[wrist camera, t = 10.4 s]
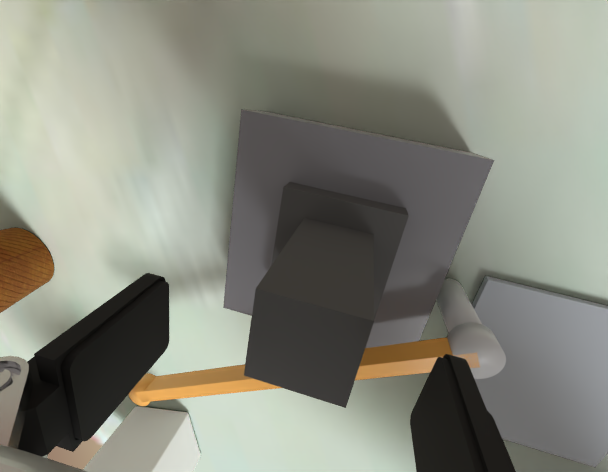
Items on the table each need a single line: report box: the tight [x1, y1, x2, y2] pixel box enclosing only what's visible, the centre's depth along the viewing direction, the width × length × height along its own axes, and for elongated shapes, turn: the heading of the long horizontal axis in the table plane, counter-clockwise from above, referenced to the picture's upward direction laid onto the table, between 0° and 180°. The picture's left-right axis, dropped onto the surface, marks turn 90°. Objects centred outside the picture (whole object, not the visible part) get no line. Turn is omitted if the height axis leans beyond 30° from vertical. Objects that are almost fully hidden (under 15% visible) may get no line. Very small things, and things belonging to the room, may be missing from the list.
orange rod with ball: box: [129, 323, 506, 406], centre depth 21 cm, size 26×3×2 cm, turn 109°
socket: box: [223, 109, 494, 348], centre depth 20 cm, size 17×14×6 cm
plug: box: [244, 182, 409, 408], centre depth 16 cm, size 7×7×12 cm
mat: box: [472, 276, 608, 467], centre depth 24 cm, size 14×14×1 cm
